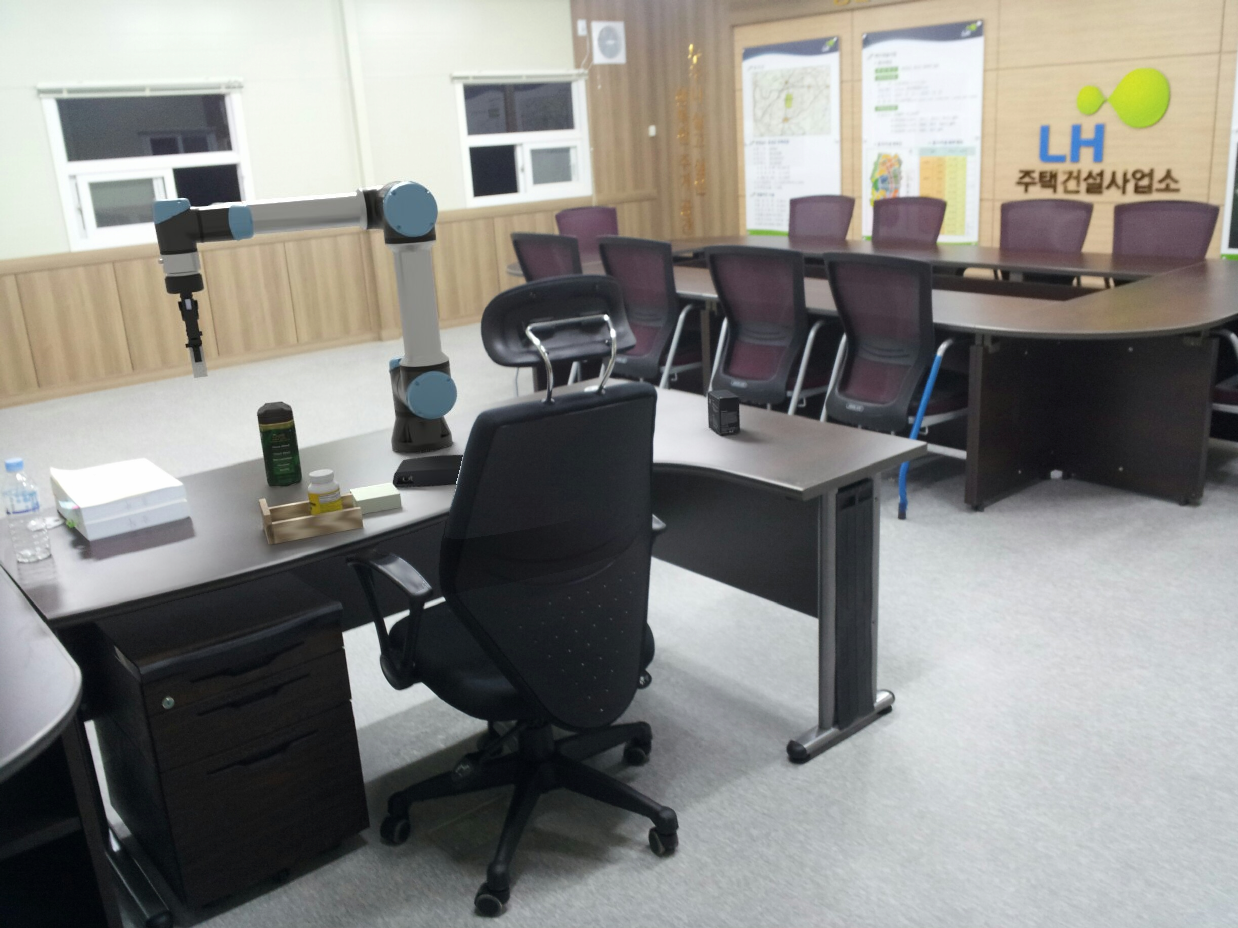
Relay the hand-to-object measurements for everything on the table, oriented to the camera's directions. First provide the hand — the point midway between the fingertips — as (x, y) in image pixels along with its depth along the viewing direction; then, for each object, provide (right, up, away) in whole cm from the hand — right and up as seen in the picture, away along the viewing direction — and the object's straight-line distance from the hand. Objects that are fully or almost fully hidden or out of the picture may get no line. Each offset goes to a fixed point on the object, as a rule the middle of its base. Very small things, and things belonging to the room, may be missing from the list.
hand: (199, 371), depth 236 cm
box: (+118, -12, +33) cm, 123 cm away
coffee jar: (+15, -25, +13) cm, 32 cm away
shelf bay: (+30, -33, -18) cm, 48 cm away
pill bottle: (+33, -33, -17) cm, 49 cm away
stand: (+40, -29, -7) cm, 50 cm away
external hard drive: (+51, -24, +10) cm, 57 cm away
